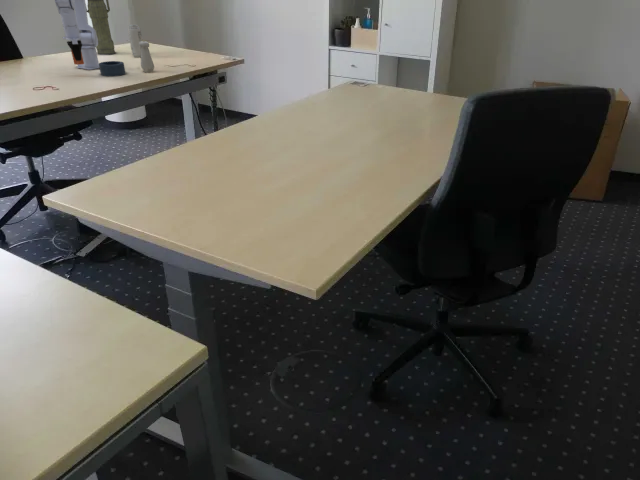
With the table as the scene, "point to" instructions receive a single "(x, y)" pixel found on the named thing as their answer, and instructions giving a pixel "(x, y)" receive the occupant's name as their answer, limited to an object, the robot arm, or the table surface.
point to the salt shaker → (146, 57)
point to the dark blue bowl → (112, 68)
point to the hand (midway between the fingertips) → (78, 59)
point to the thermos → (101, 26)
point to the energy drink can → (135, 39)
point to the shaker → (78, 61)
